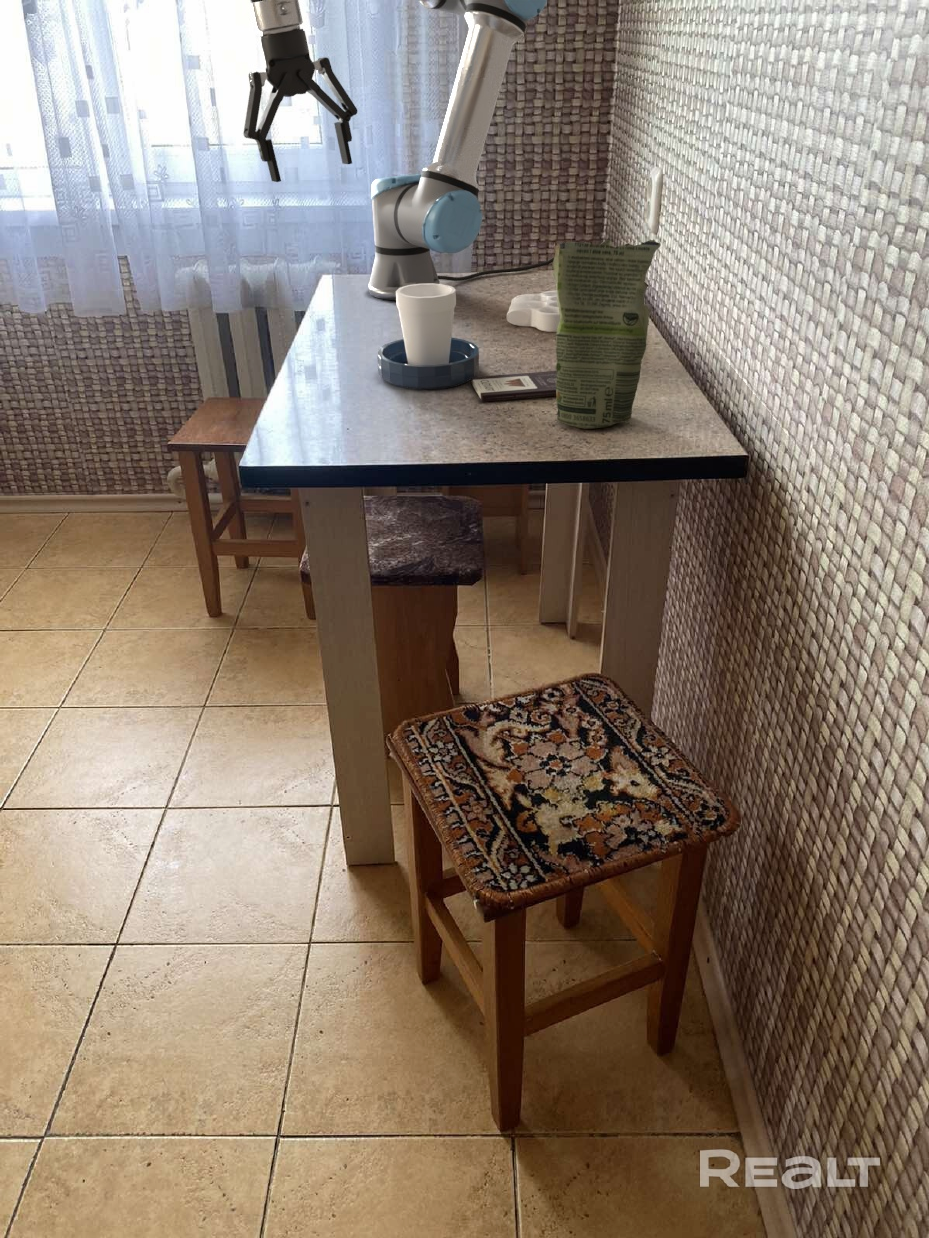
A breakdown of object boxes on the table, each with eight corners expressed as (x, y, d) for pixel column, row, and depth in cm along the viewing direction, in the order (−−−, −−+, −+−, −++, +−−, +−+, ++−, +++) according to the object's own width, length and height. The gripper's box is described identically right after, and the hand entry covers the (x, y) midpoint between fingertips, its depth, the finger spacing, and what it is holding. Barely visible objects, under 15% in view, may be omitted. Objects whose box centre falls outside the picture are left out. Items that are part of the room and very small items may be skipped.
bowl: (442, 353, 166) (441, 330, 164) (499, 377, 155) (499, 353, 153) (360, 372, 158) (358, 348, 156) (414, 398, 147) (413, 373, 145)
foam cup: (450, 381, 151) (448, 298, 144) (394, 379, 153) (389, 297, 146) (461, 363, 159) (460, 284, 152) (408, 361, 161) (404, 282, 154)
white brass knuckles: (513, 306, 192) (585, 308, 191) (504, 331, 177) (582, 333, 176) (513, 289, 191) (586, 290, 189) (504, 313, 176) (583, 314, 174)
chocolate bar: (595, 386, 147) (482, 395, 144) (594, 392, 147) (482, 401, 145) (578, 369, 154) (471, 377, 152) (578, 374, 155) (471, 383, 152)
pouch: (539, 417, 139) (544, 238, 125) (597, 399, 145) (608, 226, 131) (592, 439, 131) (604, 251, 118) (651, 419, 137) (668, 238, 124)
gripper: (215, 43, 146) (252, 190, 157) (359, 16, 154) (384, 157, 166) (201, 45, 151) (238, 187, 163) (341, 19, 160) (367, 155, 172)
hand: (312, 172), depth 165 cm, fingers open, 13 cm apart
